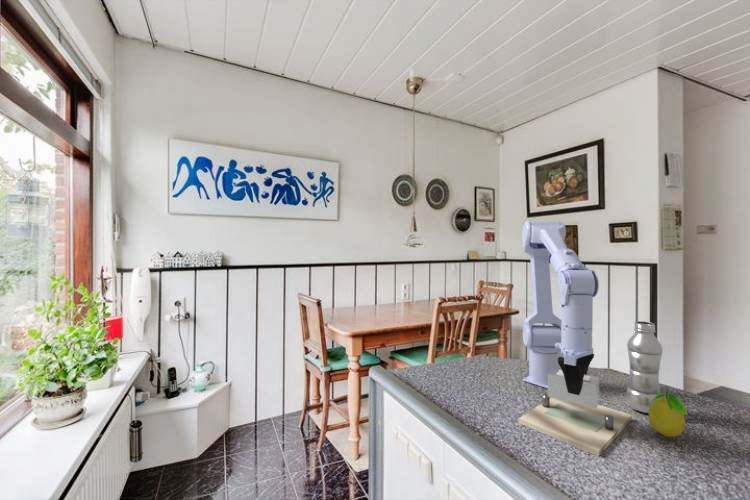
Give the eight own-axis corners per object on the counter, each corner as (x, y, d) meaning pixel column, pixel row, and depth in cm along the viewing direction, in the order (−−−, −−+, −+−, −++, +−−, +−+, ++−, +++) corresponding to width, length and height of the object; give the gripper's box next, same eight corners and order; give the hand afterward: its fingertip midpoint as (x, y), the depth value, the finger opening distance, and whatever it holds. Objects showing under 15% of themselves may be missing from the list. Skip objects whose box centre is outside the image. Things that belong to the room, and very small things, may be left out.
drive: (552, 389, 79) (552, 367, 79) (599, 400, 73) (599, 376, 73) (547, 396, 76) (547, 373, 76) (596, 408, 70) (596, 383, 70)
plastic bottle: (656, 406, 81) (657, 321, 80) (666, 420, 75) (667, 327, 74) (622, 401, 83) (624, 318, 83) (629, 414, 77) (631, 324, 77)
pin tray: (558, 396, 86) (559, 382, 86) (631, 419, 75) (631, 403, 75) (518, 423, 74) (518, 406, 74) (598, 456, 62) (598, 437, 62)
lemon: (687, 451, 64) (687, 397, 63) (646, 439, 68) (647, 388, 67) (687, 436, 68) (688, 386, 68) (649, 425, 72) (650, 378, 72)
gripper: (562, 317, 82) (562, 374, 82) (547, 329, 71) (547, 396, 71) (597, 322, 78) (597, 382, 78) (588, 335, 66) (587, 406, 67)
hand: (575, 389), depth 74 cm, fingers closed on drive, 4 cm apart
